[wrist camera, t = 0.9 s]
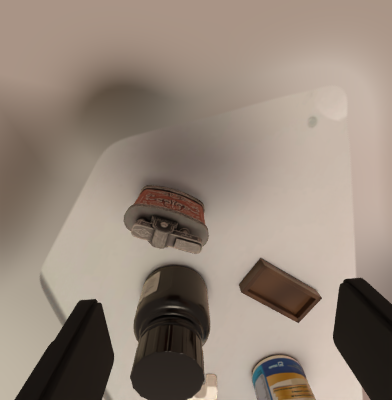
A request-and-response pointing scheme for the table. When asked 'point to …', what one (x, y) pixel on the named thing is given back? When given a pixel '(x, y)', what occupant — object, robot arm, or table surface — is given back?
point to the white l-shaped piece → (207, 389)
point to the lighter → (168, 219)
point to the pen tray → (279, 291)
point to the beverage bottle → (281, 380)
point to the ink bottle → (171, 335)
